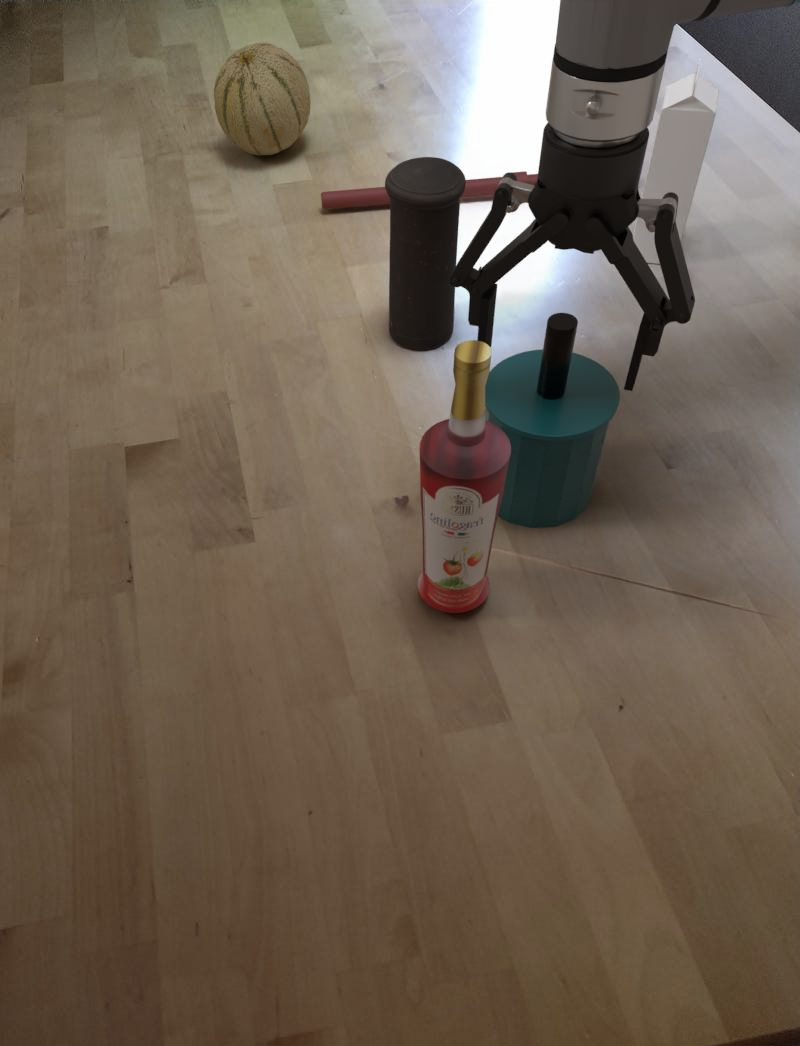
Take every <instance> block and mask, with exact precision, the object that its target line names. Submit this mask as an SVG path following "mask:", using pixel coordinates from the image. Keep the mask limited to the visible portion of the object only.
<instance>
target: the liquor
mask: <svg viewBox="0 0 800 1046" xmlns="http://www.w3.org/2000/svg"><path fill="white" fill-rule="evenodd" d="M491 362H492V347H491V348H490V346H489V345H487V344H486V343H484V342H481V341H477V339H476V340H475V339H471V340H465V341H462V342H460V343H459V344H457V345H456V346H455V348H454V355H453V368H452V369H453V377H454V391H453V397H452V402H451V409H450V413H449V418H447V419H444V420H441V421H439V422H436V423H435V424H433V425H432V426H430V427H429V428H428V429H427V430H425V432H424V433H423V435H422V436H421V438H420V441H419V476H420V477H419V485H420V486H419V489H420V491H419V494H420V507H421V509H420V511H421V527H422V528H421V530H422V532H421V533H422V570H421V572H420V574H419V576H418V580H417V589H418V592H419V594H420V595H419V596H420V597H421V598H422V599H423V601H424V602H425V603H426V604H428V605H429V606H430V607H432V608H434V609H435V610H438V611H441V612H444V613H450V614H460V613H465V612H470V611H471V610H473V609H476V608H477V607H479V606H480V605H482V604H483V603H484V601H486V599H487V597H488V596H489V592H490V588H491V587H490V586H491V584H490V579H489V577H488V570H489V563H490V559H491V552H492V547H493V542H494V536H495V532H496V526H497V522H498V517H499V516H498V513H499V509H500V505H501V500H502V496H503V490H504V485H505V480H506V474H507V469H508V464H509V459H510V454H511V444H510V441H509V439H508V437H507V435H506V434H505V433H504V432H503V431H502V430H501V429H500V428H499V427H497V426H496V425H495V424H492V423H490V422H488V421H486V420H485V409H486V407H485V385H486V382H487V379H488V375H489V372H490V371H491Z"/></svg>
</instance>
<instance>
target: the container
mask: <svg viewBox="0 0 800 1046" xmlns="http://www.w3.org/2000/svg"><path fill="white" fill-rule="evenodd" d="M466 180H467V179H466V176H465V174H464V172H463V170H462V169H461V168H460V167H459V166H457V165H456V164H455V163H453V162H452V161H449V160H448V159H445V158H441V157H435V156H433V157H432V156H422V157H421V156H420V157H415V158H414V157H413V158H410V159H406V160H404V161H402V162H400V163H397V164H396V165H395V166H394V167H392V169H391V170H390V171H389V172H388V173H387V175H386V177H385V181H384V187H385V189H386V191H387V194H388V195H389V197H390V204H389V265H388V266H389V270H388V271H389V279H388V280H389V281H388V283H389V284H388V288H389V289H388V333H389V336H390V338H391V339H392V341H393V342H394V343H396V345H398V346H400V347H403V348H406V349H408V350H413V351H425V350H432V349H436V348H439V347H440V346H442V345H443V344H445V343H446V342H448V340H449V339H450V338H451V337H452V335H453V332H454V325H455V323H454V321H455V301H456V300H455V299H456V297H455V296H456V287H453V286H452V285H451V284H450V282H449V279H450V277H451V275H452V273H453V271H454V269H455V267H456V265H457V255H458V240H459V239H458V238H459V223H460V209H461V198H460V197H461V196H462V194H463V193H464V190H465V184H466Z"/></svg>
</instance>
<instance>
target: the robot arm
mask: <svg viewBox="0 0 800 1046" xmlns="http://www.w3.org/2000/svg"><path fill="white" fill-rule="evenodd" d="M798 4H800V0H560V1H559V10H558V19H557V27H556V36H555V44H554V47H553V48H554V49H553V57H552V62H551V70H550V76H549V85H548V92H547V98H546V105H545V106H546V107H545V120H546V121H547V123H546V124H545V126H544V128H543V132H542V139H541V147H540V155H539V163H538V171H537V174H538V178H537V182H536V183H535V185H531V184H526V183H522V182H518V181H517V178H516V176H515V174H513V173H512V172H511V171H509V172H506V173H504V174H503V176H501V177H502V179H501V181H500V183H499V185H498V187H497V189H496V191H495V193H494V195H493V198H492V202H491V208H490V211H489V212H488V214H487V215H486V217H485V218H484V220H483V222H482V223H481V225H480V226H479V228H478V230H477V231H476V233H475V235H474V236H473V238H472V239H471V241H470V243H469V244H468V245H467V247H466V249H465V251H464V252H463V254H462V255H461V257H460V258H459V260H458V262H456V267H455V269H454V271H453V273H452V275H451V277H450V279H449V282H450V284H451V285H452V286H453V287H455V288H460V287H461V288H463V289H464V290H466V291H467V293H468V294H469V301H468V313H467V314H468V315H467V316H468V317H467V321H468V324H469V326H473V327H478V328H477V339H476V340H477V341H481V342H484V343H486V344H487V345H489V346H490V348H491V349H492V342H493V334H494V333H493V332H494V321H495V312H496V303H497V293H498V292H497V291H498V283H497V282H499V281H500V280H501V279H502V278H503V277H504V276H506V275H507V274H508V273H509V272H511V271H512V270H513V269H514V268H516V266H518V265H519V264H520V263H521V262H522V261H523V260H524V259H526V258H527V257H528V256H529V255H530V254H533V253H535V252H537V250H539V249H540V248H542V246H543V245H544V244H546V243H547V242H549V243H550V244H552V245H553V246H554V249H555V250H563V251H566V250H577V251H579V252H581V253H584V254H590V255H594V254H595V252H598V251H601V252H602V254H603V255H604V257H605V258H606V260H607V261H608V263H609V264H610V265H614V267H615V269H616V270H617V271H618V274H619V275H620V277H621V278H622V280H623V281H624V283H625V285H626V286H627V288H628V289H629V292H631V295H632V296H633V297H634V299H635V300H636V302H637V304H638V305H639V307H640V308H641V310H642V311H643V314H642V318H641V320H640V323H639V328H638V332H637V335H636V339H635V343H634V347H633V351H632V355H631V359H630V363H629V367H628V371H627V375H626V379H625V384H624V387H623V390H624V391H629V392H633V391H634V387H635V383H636V380H637V377H638V374H639V371H640V366H641V362H642V359H643V356H647V357H653V358H654V357H655V356H656V354H657V353H658V352H659V348H660V344H661V340H662V338H663V334H664V330H665V327H666V326H667V325H668V324H670V323H674V322H675V323H678V324H680V325H683V324H687V323H688V322H690V320H691V318H692V314H693V310H694V307H695V303H696V297H695V292H694V289H693V285H692V281H691V277H690V273H689V269H688V265H687V261H686V258H685V257H686V256H685V254H684V250H683V249H684V248H683V246H682V240H681V241H680V237H679V233H678V229H677V225H676V215H677V208H678V196H677V194H675V193H673V192H669V193H667V194H665V195H664V196H663V198H662V199H641V195H640V191H639V183H640V179H641V175H642V171H643V167H644V161H645V157H646V153H647V149H648V148H647V147H648V144H649V138H650V130H649V128H648V127H649V126H650V125H651V124H652V122H653V120H654V115H655V111H656V107H657V102H658V98H659V93H660V89H661V85H662V80H663V76H664V71H665V66H666V60H667V56H668V51H669V47H670V43H671V39H672V36H673V33H674V28H675V26H677V25H679V24H684V23H691V22H693V23H694V22H700V21H702V20H706V19H714V18H720V17H726V16H732V15H739V14H745V13H752V12H757V11H764V10H769V9H770V10H771V9H776V8H782V7H785V8H786V9H789V8H795V7H797V5H798ZM523 204H527V205H528V208H529V210H530V212H531V213H532V215H533V218H534V219H533V221H532V222H531V223H530V224H529V225H528V226H527V227H526V228H525V229H524V230H523V231H522V232H521V233H519V235H517V236H515V238H514V239H513V240H512V241H510V242H509V243H508V244H507V245H506V246H505V247H504V248H503V249H501V250H500V251H499V252H498V253H497V254H496V255H494V256H493V257H492V258H491V259H490V260H489V261H488V262H487V263H485V265H484V266H480V267H479V268H478V269H477V268H475V266H476V264H477V262H478V260H479V259H480V258H481V256H482V254H483V253H484V252H485V250H486V249H487V247H488V246H489V244H490V242H491V241H492V239H493V238H494V236H495V234H496V233H497V231H498V230H499V229H500V227H501V226H502V223H503V221H504V220H505V218H506V216H507V214H511V213H515V212H516V211H517V210H518V209H519V207H520V206H521V205H523ZM637 217H639V218H642V219H643V220H644V221H645V224H646V228H647V229H648V230H649V232H655V233H654V241H655V247H656V251H657V255H658V258H659V262H660V264H659V266H660V269H661V273H662V277H663V280H664V284H665V288H666V291H667V294H666V292H665V290H664V288H663V287H662V286H661V284H660V282H659V280H658V279H657V277H656V276H655V273H654V272H653V270H652V269H651V267H650V266H649V263H647V262H646V261H645V259H644V257H643V256H642V254H641V252H640V251H639V249H638V247H637V246H636V244H635V242H634V240H633V233H632V230H631V229H630V228H629V227H630V226H631V225H632V224H633V223H634V222H636V219H637Z"/></svg>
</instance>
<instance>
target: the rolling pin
mask: <svg viewBox="0 0 800 1046" xmlns="http://www.w3.org/2000/svg"><path fill="white" fill-rule="evenodd" d="M511 173H513V174H515V176H516V178H517V181H518V182H522V183H526V184H531V185H535V183H536V182H537V178H538V173H534V174H533V173H532V174H528V172H527V171H526V170H525V171H513V172H511ZM502 177H503V176H496V177H485V178H484V177H483V178H472V179H465V180H466V184H465V190H464V193H463V194H462V196H461V197H460V199H464V198H474V197H476V198H477V197H486V196H487V197H488V196H489V197H490V196H494V193H495V191H496V189H497V187H498V185H499V183H500V181H501V179H502ZM320 198H321V208H322V210H330V209H343V208H355V207H367V206H379V205H380V206H381V205H390V197H389V195H388V194H387V191H386V189H385V186H376V187H365V188H364V187H363V188H353V189H342V190H341V189H340V190H330V191H321V193H320Z"/></svg>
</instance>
